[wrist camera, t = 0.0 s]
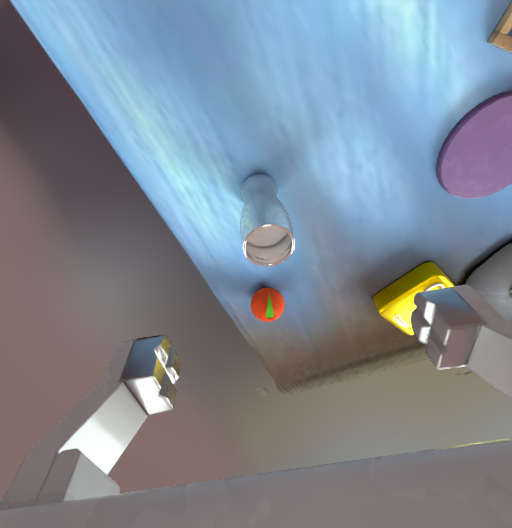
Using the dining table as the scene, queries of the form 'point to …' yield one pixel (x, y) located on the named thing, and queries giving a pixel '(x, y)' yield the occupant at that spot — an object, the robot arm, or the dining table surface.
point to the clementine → (267, 304)
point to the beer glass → (264, 222)
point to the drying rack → (503, 32)
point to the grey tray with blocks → (495, 281)
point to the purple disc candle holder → (479, 150)
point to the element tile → (409, 294)
